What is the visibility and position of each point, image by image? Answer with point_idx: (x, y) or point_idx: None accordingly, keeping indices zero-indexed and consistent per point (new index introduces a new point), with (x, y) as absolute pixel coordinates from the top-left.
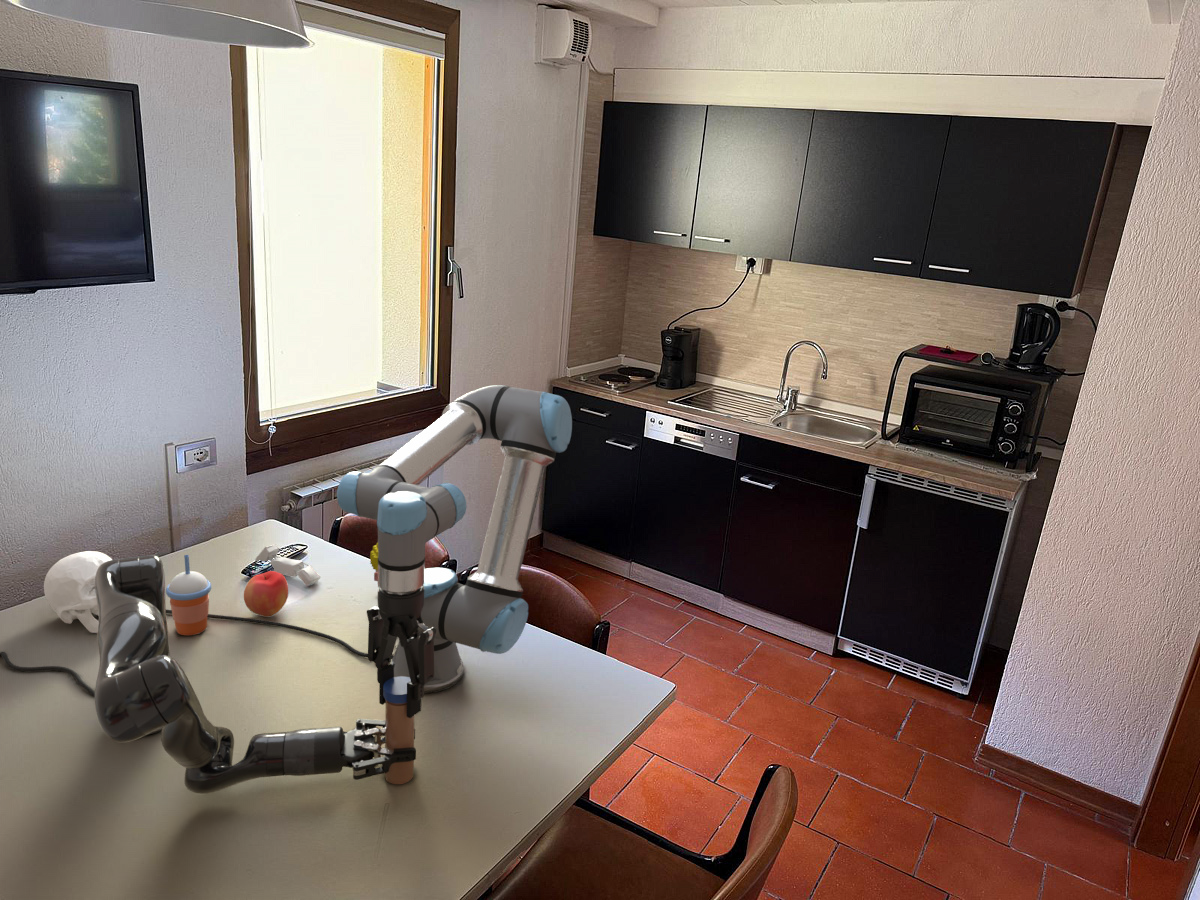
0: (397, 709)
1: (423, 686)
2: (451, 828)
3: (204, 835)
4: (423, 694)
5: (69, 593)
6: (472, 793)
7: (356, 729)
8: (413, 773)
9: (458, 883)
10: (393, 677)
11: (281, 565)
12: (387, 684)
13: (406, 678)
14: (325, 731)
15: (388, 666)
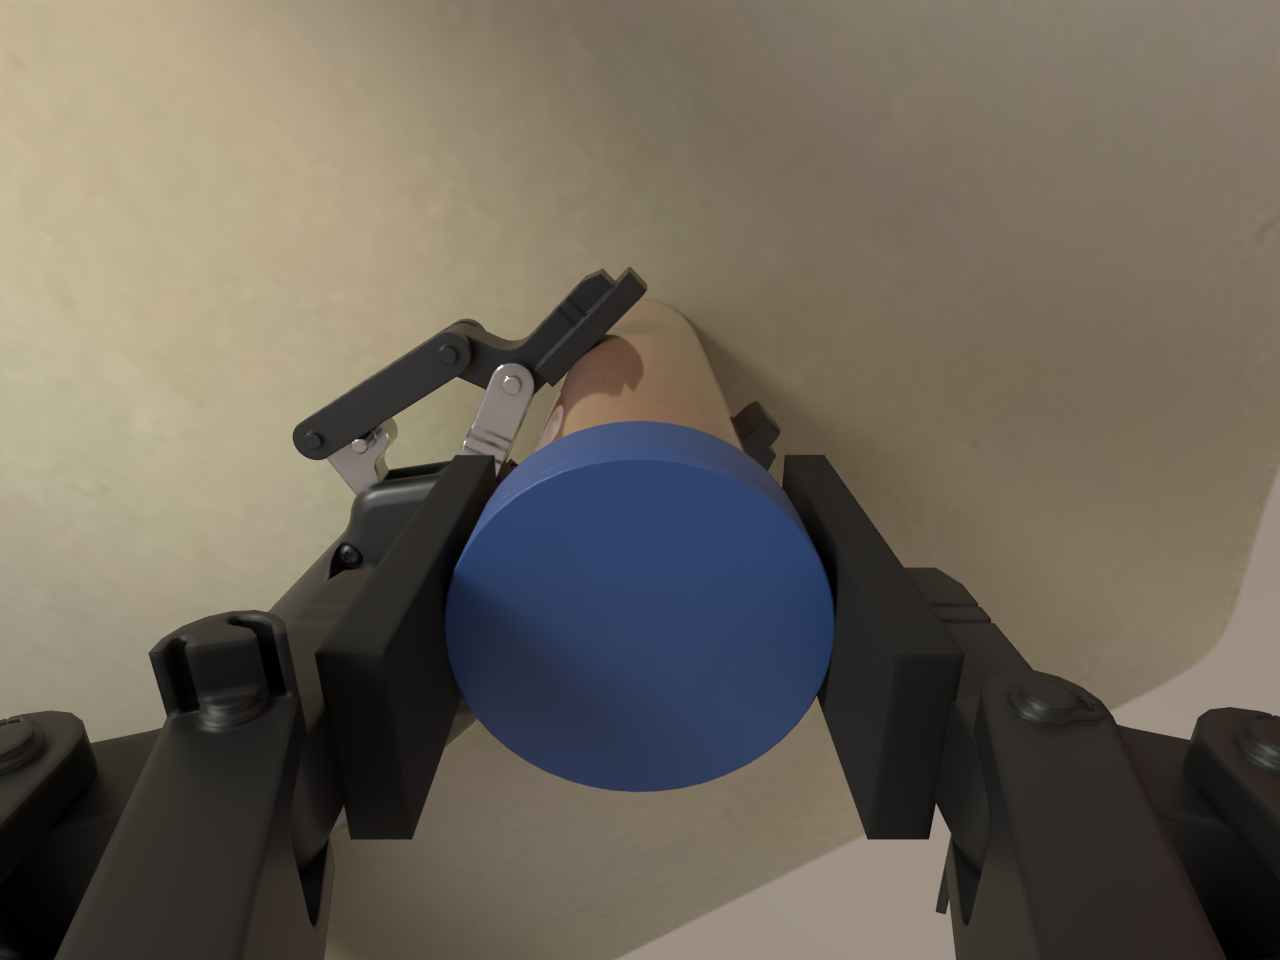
0: None
1: (1017, 663)
2: (1034, 475)
3: (371, 903)
4: (965, 595)
5: None
6: (1009, 254)
7: (354, 476)
8: (694, 330)
9: (1187, 646)
10: (442, 562)
11: None
12: (514, 705)
13: (588, 500)
14: None
15: (355, 719)
